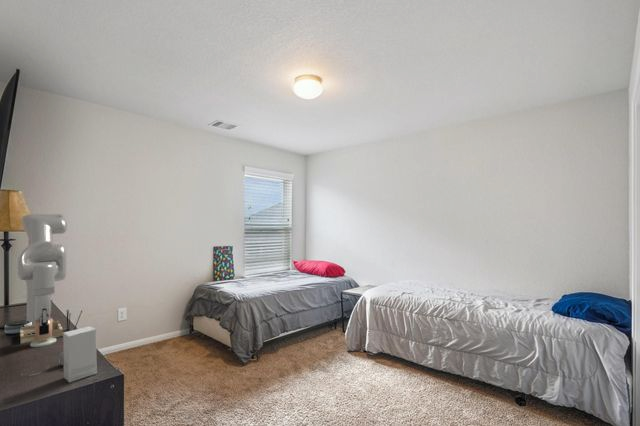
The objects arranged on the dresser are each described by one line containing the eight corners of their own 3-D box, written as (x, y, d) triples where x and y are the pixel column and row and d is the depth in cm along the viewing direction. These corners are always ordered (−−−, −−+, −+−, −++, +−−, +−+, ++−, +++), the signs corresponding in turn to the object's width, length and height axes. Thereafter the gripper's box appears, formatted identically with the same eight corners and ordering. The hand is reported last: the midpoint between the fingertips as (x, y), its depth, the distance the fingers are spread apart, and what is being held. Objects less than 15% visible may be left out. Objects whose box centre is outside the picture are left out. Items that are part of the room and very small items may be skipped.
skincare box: (91, 369, 119) (91, 325, 120) (97, 374, 115) (97, 328, 116) (62, 378, 113) (62, 331, 113) (68, 383, 109) (68, 335, 109)
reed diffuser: (57, 363, 126) (57, 309, 127) (80, 357, 131) (80, 306, 131) (60, 371, 118) (60, 314, 119) (84, 365, 123) (84, 310, 124)
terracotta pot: (34, 338, 149) (34, 312, 149) (51, 334, 153) (51, 309, 153) (35, 341, 144) (35, 314, 145) (52, 337, 148) (52, 311, 149)
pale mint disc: (29, 343, 149) (29, 341, 149) (55, 338, 155) (55, 336, 155) (30, 348, 142) (30, 346, 142) (57, 343, 148) (57, 341, 148)
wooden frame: (20, 335, 160) (20, 327, 160) (59, 328, 170) (59, 320, 171) (20, 344, 148) (20, 334, 149) (63, 335, 159) (63, 327, 159)
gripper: (31, 290, 153) (31, 330, 152) (33, 295, 140) (33, 339, 140) (52, 288, 158) (52, 326, 157) (56, 293, 145) (56, 334, 145)
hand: (43, 332), depth 149 cm, fingers closed on terracotta pot, 5 cm apart
